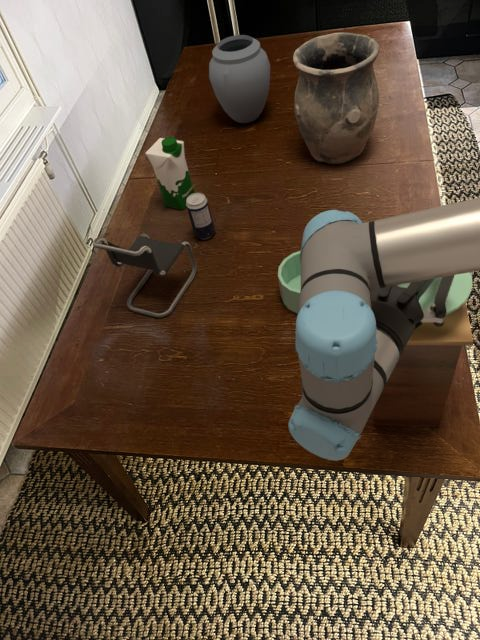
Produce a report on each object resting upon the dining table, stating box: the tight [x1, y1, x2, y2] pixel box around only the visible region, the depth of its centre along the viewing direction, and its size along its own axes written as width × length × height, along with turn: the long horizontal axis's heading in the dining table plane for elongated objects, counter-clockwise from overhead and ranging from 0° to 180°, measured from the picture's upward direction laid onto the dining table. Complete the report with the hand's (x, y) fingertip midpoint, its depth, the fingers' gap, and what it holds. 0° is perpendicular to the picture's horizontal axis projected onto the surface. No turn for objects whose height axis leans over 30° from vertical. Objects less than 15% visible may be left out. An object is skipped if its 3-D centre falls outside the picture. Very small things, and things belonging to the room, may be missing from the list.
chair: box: [92, 233, 197, 319], centre depth 124 cm, size 13×17×22 cm
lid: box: [397, 272, 473, 315], centre depth 75 cm, size 15×15×10 cm
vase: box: [208, 34, 271, 124], centre depth 169 cm, size 20×20×24 cm
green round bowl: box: [277, 250, 301, 314], centre depth 121 cm, size 14×14×8 cm
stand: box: [371, 301, 474, 428], centre depth 92 cm, size 14×14×28 cm
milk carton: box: [145, 136, 196, 211], centre depth 147 cm, size 9×9×20 cm
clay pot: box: [292, 31, 380, 165], centre depth 146 cm, size 22×23×30 cm
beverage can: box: [186, 192, 216, 240], centre depth 138 cm, size 6×6×12 cm
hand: (437, 224), depth 76 cm, fingers closed on lid, 3 cm apart
